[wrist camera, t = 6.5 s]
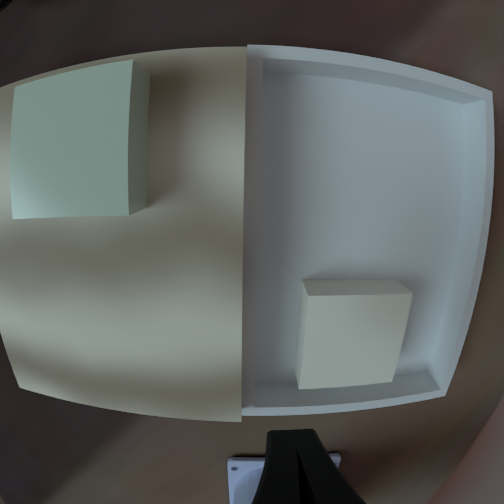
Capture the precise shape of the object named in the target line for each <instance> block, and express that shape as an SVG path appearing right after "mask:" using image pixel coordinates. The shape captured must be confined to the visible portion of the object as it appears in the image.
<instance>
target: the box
mask: <svg viewBox="0 0 504 504" xmlns="http://www.w3.org/2000/svg"><path fill="white" fill-rule="evenodd" d="M493 181H494V111H493V96H492V91H489V90H487V89H484V88H481V87H479V86H476V85H473V84H470V83H468V82H465V81H462V80H459V79H456V78H453V77H449V76H446V75H443V74H440V73H436V72H433V71H429V70H426V69H422V68H418V67H414V66H410V65H406V64H402V63H398V62H393V61H389V60H384V59H379V58H374V57H368V56H363V55H357V54H351V53H344V52H337V51H330V50H321V49H312V48H302V47H289V46H272V45H247V80H246V122H245V170H244V228H243V304H242V415H244V416H275V415H305V414H321V413H334V412H345V411H355V410H364V409H372V408H380V407H387V406H393V405H400V404H406V403H411V402H417V401H422V400H427V399H432V398H437V397H442V396H445V394H446V392H447V389H448V387H449V384H450V382H451V379H452V376H453V374H454V371H455V368H456V365H457V363H458V360H459V357H460V354H461V351H462V348H463V344H464V341H465V338H466V335H467V331H468V328H469V324H470V321H471V317H472V313H473V309H474V305H475V301H476V297H477V293H478V289H479V284H480V279H481V274H482V269H483V264H484V259H485V253H486V247H487V240H488V233H489V225H490V217H491V207H492V196H493ZM374 279H396V280H397V281H399V282H400V283H401V284H402V285H403V286H405V287H406V288H407V289H408V290H409V291H411V292H412V293H413V295H412V301H411V306H410V311H409V316H408V320H407V325H406V330H405V334H404V338H403V342H402V346H401V350H400V354H399V358H398V362H397V366H396V369H395V373H394V377H393V380H392V382H385V383H377V384H368V385H358V386H346V387H333V388H318V389H299V388H298V383H297V378H296V374H295V369H294V362H295V351H296V341H297V329H298V317H299V304H300V291H301V280H374Z"/></svg>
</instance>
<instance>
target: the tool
mask: <svg viewBox="0 0 504 504" xmlns="http://www.w3.org/2000/svg"><path fill="white" fill-rule="evenodd" d="M12 1H13V0H0V12H1V11H2V10H3V9H4V8H6V7H7V6H8V5H9V4H10V3H11V2H12Z"/></svg>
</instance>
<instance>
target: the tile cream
mask: <svg viewBox="0 0 504 504" xmlns="http://www.w3.org/2000/svg"><path fill="white" fill-rule="evenodd" d="M412 295H413V293H412V292H411V291H409V290H408V289H407V288H406V287H405V286H403V285H402V284H401V283H400V282H399V281H397V280H396V279H374V280H301V291H300V304H299V317H298V329H297V341H296V351H295V362H294V369H295V374H296V378H297V383H298V388H299V389H318V388H333V387H346V386H358V385H368V384H377V383H385V382H392V380H393V377H394V373H395V369H396V366H397V362H398V358H399V354H400V350H401V346H402V342H403V338H404V334H405V330H406V325H407V320H408V316H409V311H410V306H411V301H412Z"/></svg>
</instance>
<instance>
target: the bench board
mask: <svg viewBox="0 0 504 504" xmlns="http://www.w3.org/2000/svg"><path fill="white" fill-rule="evenodd" d="M126 60H134V61H135V62H136V63H138V64H139V65H140V66H141V67H142V68H143V69H144V70H146V71H147V72H148V73H149V74H150V75H151V79H150V95H149V115H148V151H147V188H148V208H145V209H143V210H141V211H138V212H136V213H134V214H131V215H129V216H83V217H51V218H26V219H13V216H12V202H11V180H10V144H11V123H12V109H13V99H14V90H15V87H16V86H19V85H22V84H25V83H29V82H32V81H35V80H39V79H42V78H46V77H49V76H53V75H57V74H61V73H65V72H69V71H73V70H78V69H82V68H87V67H92V66H97V65H102V64H107V63H113V62H119V61H126ZM246 80H247V47H203V48H186V49H173V50H163V51H153V52H145V53H138V54H131V55H124V56H118V57H112V58H107V59H101V60H96V61H91V62H87V63H82V64H78V65H73V66H69V67H65V68H61V69H57V70H54V71H50V72H46V73H43V74H39V75H36V76H33V77H30V78H26V79H23V80H20V81H17V82H14V83H12V84H9V85H6V86H3V87H0V332H1V336H2V339H3V342H4V345H5V348H6V351H7V354H8V357H9V360H10V363H11V366H12V369H13V371H14V374H15V377H16V379H17V382H18V384H19V387H20V388H23V389H26V390H30V391H33V392H37V393H40V394H44V395H48V396H51V397H55V398H59V399H64V400H68V401H72V402H76V403H81V404H86V405H91V406H96V407H101V408H106V409H112V410H118V411H124V412H130V413H137V414H144V415H152V416H160V417H170V418H180V419H192V420H207V421H228V422H241V418H242V304H243V228H244V170H245V122H246Z"/></svg>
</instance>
